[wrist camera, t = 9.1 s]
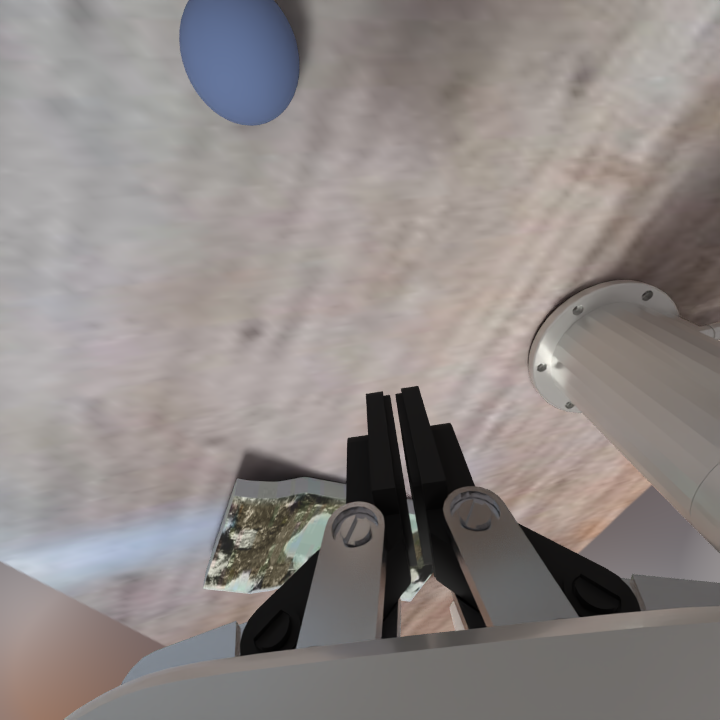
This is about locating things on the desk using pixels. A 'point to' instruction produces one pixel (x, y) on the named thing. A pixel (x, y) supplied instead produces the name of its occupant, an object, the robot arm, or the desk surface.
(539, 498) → the desk surface
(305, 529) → the topographical model
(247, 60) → the ball
